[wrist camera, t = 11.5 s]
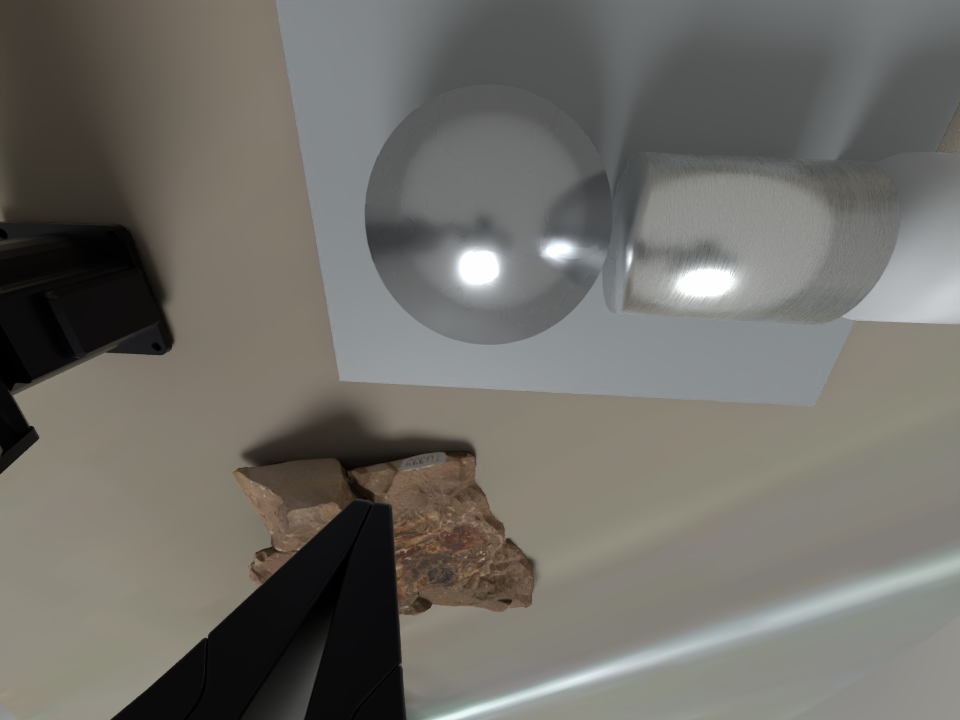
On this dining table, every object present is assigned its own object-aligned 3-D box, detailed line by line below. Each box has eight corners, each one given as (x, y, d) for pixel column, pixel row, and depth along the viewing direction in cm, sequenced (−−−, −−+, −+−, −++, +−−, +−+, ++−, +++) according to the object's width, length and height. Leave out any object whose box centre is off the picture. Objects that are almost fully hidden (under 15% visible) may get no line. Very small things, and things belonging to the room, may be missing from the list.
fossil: (528, 444, 23) (532, 509, 18) (535, 610, 30) (539, 684, 26) (214, 452, 25) (153, 512, 21) (291, 606, 32) (258, 673, 28)
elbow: (396, 310, 17) (356, 361, 13) (383, 95, 14) (320, 63, 9) (739, 332, 17) (821, 394, 12) (820, 110, 13) (979, 83, 9)
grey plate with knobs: (347, 371, 21) (283, 452, 15) (270, -117, 13) (65, -351, 7) (800, 394, 19) (922, 494, 14) (1042, -140, 11) (1602, -459, 5)
